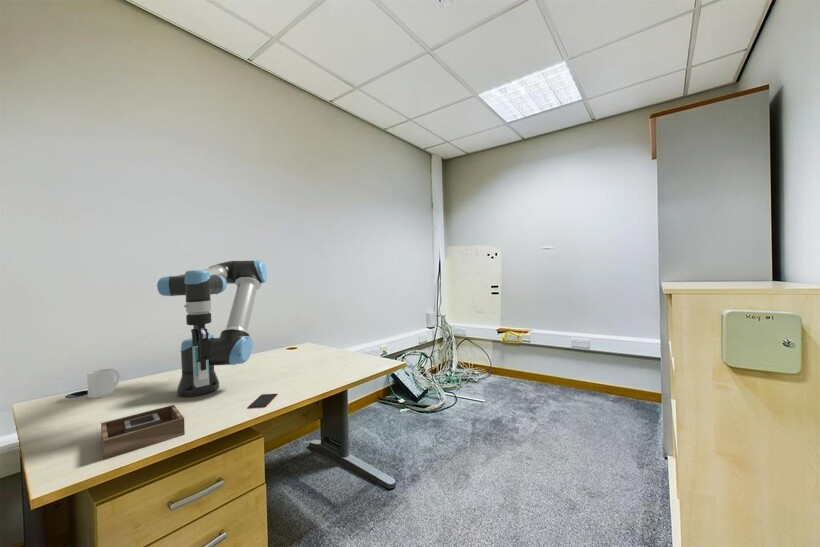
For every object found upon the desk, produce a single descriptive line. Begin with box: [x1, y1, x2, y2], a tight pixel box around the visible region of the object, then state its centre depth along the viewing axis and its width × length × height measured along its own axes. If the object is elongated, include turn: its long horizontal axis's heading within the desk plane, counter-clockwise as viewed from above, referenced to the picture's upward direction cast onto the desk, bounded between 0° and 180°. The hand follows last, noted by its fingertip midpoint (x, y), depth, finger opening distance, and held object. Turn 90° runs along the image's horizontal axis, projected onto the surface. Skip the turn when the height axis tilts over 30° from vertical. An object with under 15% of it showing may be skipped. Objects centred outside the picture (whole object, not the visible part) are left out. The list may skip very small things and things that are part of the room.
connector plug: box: [192, 346, 210, 388], centre depth 116 cm, size 4×4×14 cm
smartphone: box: [246, 393, 278, 410], centre depth 124 cm, size 7×1×14 cm
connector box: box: [100, 404, 186, 460], centre depth 98 cm, size 16×18×5 cm
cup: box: [86, 367, 120, 399], centre depth 139 cm, size 8×12×10 cm
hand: (201, 377), depth 116 cm, fingers closed on connector plug, 4 cm apart
